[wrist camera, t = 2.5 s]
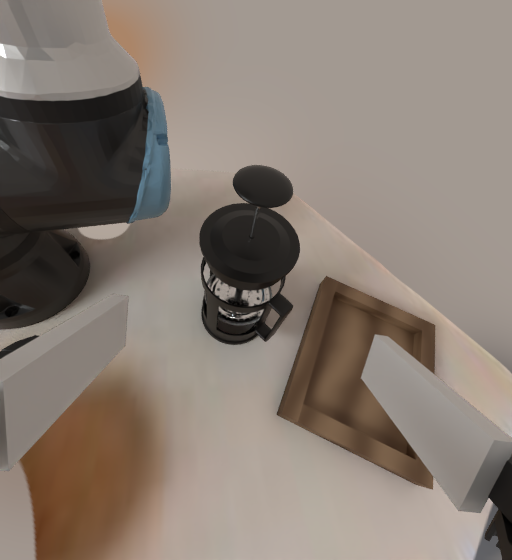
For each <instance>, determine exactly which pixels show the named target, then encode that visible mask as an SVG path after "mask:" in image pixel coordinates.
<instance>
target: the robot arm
mask: <svg viewBox="0 0 512 560" xmlns="http://www.w3.org/2000/svg"><path fill="white" fill-rule="evenodd" d="M167 142H168V137H167V123H166V116H165V110H164V106H163V102H162V99H161V96H160V94H159V93H158V92H156V91H154V90H151V89H150V88H149V87H142V82H141V77H140V71H139V67H138V64H137V63H136V61H135V60H134V59H133V58H132V57H131V56H130V55H129V54H128V53H127V52H126V51H125V49H124V48H122V46H121V45H120V44H119V43H118V42H117V41H116V40H115V39H114V38H113V37H112V36H111V34H110V32H109V29H108V25H107V21H106V17H105V13H104V9H103V5H102V1H101V0H0V329H13V328H19V327H24V326H28V325H31V324H35V323H37V322H40V321H42V320H45V319H47V318H49V317H51V316H53V315H54V314H56V313H58V312H59V311H61V310H62V309H64V308H65V307H66V306H67V305H69V304H70V303H71V302H72V301H73V300H74V299H75V298H76V297H77V296H78V294H79V293H80V292H81V290H82V289H83V287H84V285H85V283H86V281H87V279H88V276H89V270H90V263H89V258H88V256H87V254H86V252H85V250H84V249H83V247H82V246H81V245H80V243H79V242H78V241H77V240H76V239H75V238H74V237H73V236H72V235H71V234H70V233H68V232H67V231H65V230H63V229H70V228H79V227H88V226H97V225H106V224H116V223H125V222H126V223H128V224H129V223H133V222H134V221H135V220H142V219H148V218H154V217H158V216H160V215H162V214H163V213H164V212H165V211H166V210H167V208H168V206H169V202H170V193H171V171H170V154H169V147H168V144H167ZM128 297H129V296H124V295H117V294H112V295H110V296H108V297H106V298H105V299H103V300H101V301H99V302H98V303H96V304H94V305H93V306H91V307H89V308H87V309H86V310H84V311H82V312H80V313H79V314H77V315H75V316H74V317H72V318H70V319H68V320H67V321H65V322H63V323H62V324H60V325H58V326H56V327H55V328H53V329H51V330H49V331H48V332H46V333H44V334H43V335H41V336H36V335H35V336H32V337H29V338H26V339H23V340H20V341H17V342H15V343H13V344H11V345H9V346H8V347H6V348H4V349H2V351H0V470H1V471H10V469H11V468H12V467H13V466H14V465H15V464H16V463H17V462H18V461H19V460H20V459H21V458H22V456H23V455H24V454H25V453H26V452H27V451H28V450H29V449H30V448H31V447H32V446H33V445H34V444H35V442H36V441H37V440H38V439H39V438H40V437H41V436H42V435H43V434H44V433H45V432H46V431H47V430H48V428H49V427H50V426H51V425H52V424H53V423H54V422H55V421H56V420H57V419H58V418H59V417H60V416H61V414H62V413H63V412H64V411H65V410H66V409H67V408H68V407H69V406H70V405H71V404H72V403H73V401H74V400H75V399H76V398H77V397H78V396H79V395H80V394H81V393H82V392H83V391H84V390H85V389H86V387H87V386H88V385H89V384H90V383H91V382H92V381H93V380H94V379H95V378H96V377H97V376H98V375H99V373H100V372H101V371H102V370H103V369H104V368H105V367H106V366H107V365H108V364H109V363H110V362H111V360H112V359H113V358H114V357H115V356H116V355H117V354H118V353H119V352H120V351H121V350H122V349H123V348H124V346H125V342H126V327H127V312H128ZM361 379H362V380H363V381H364V383H365V384H366V385H367V387H368V388H369V390H370V391H371V392H372V394H373V395H374V396H375V398H376V399H377V401H378V402H379V403H380V405H381V406H382V407H383V409H384V410H385V411H386V413H387V414H388V416H389V417H390V418H391V420H392V421H393V422H394V424H395V425H396V426H397V428H398V429H399V431H400V432H401V433H402V435H403V436H404V437H405V439H406V440H407V441H408V443H409V444H410V446H411V447H412V448H413V450H414V451H415V452H416V454H417V455H418V456H419V458H420V459H421V461H422V462H423V463H424V465H425V466H426V467H427V469H428V470H429V471H430V473H431V474H432V476H433V477H434V478H435V480H436V481H437V482H438V484H439V485H440V486H441V488H442V489H443V491H444V492H445V493H446V495H447V496H448V497H449V499H450V500H451V501H452V503H453V504H454V506H455V507H456V508H457V510H458V511H465V512H476V513H481V511H482V509H483V507H484V505H485V503H486V502H487V500H488V498H490V499H491V501H492V502H493V503H494V504H495V505H496V506H497V507H498V511H497V513H496V515H495V516H494V518H493V520H492V522H491V524H490V525H489V527H488V529H487V531H486V533H485V539H486V540H488V541H490V539H491V537H492V536H498V540H499V541H498V543H497V544H496V547H498V548H499V549H500V550H501V555H502V560H512V438H511V437H510V436H509V435H508V434H506V433H505V432H504V431H503V430H502V429H500V428H499V427H498V426H497V425H495V424H494V423H493V422H492V421H491V420H489V419H488V418H487V417H486V416H484V415H483V414H482V413H481V412H480V411H478V410H477V409H476V408H475V407H473V406H472V405H471V404H470V403H469V402H467V401H466V400H465V399H464V398H463V397H461V396H460V395H459V394H458V393H456V392H455V391H454V390H453V389H452V388H450V387H449V386H448V385H447V384H445V383H444V382H443V381H442V380H441V379H439V378H438V377H437V376H436V375H434V374H433V373H432V372H431V371H430V370H428V369H427V368H426V367H425V366H424V365H422V364H421V363H420V362H419V361H417V360H416V359H415V358H414V357H413V356H411V355H410V354H409V353H408V352H406V351H405V350H404V349H403V348H402V347H400V346H399V345H398V344H397V343H395V342H394V341H393V340H392V339H391V338H389V337H388V336H382V335H376V334H375V336H374V339H373V342H372V345H371V348H370V351H369V354H368V357H367V361H366V364H365V367H364V370H363V373H362V376H361Z"/></svg>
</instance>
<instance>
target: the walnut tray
mask: <svg viewBox="0 0 512 560" xmlns="http://www.w3.org/2000/svg"><path fill="white" fill-rule="evenodd" d="M375 334H376V335H382V336H388V337H389V338H391V339H392V340H393V341H394V342H395V343H397V344H398V345H399V346H400V347H402V348H403V349H404V350H405V351H406V352H408V353H409V354H410V355H411V356H413V357H414V358H415V359H416V360H417V361H419V362H420V363H421V364H422V365H424V366H425V367H426V368H427V369H428V370H430V371H431V372H432V373H433V374H434V366H435V325H434V324H432V323H429V322H427V321H425V320H423V319H421V318H418V317H416V316H414V315H412V314H409V313H407V312H405V311H403V310H401V309H398V308H396V307H394V306H392V305H389V304H387V303H385V302H383V301H381V300H378V299H376V298H374V297H372V296H369V295H367V294H365V293H363V292H360V291H358V290H356V289H354V288H352V287H349V286H347V285H345V284H343V283H340V282H338V281H336V280H334V279H332V278H329V277H327V276H326V277H325V278H324V280H323V281H322V282H321V284H320V286H319V289H318V292H317V295H316V298H315V301H314V304H313V307H312V310H311V313H310V316H309V319H308V322H307V325H306V328H305V331H304V334H303V337H302V340H301V343H300V346H299V349H298V352H297V355H296V358H295V361H294V364H293V367H292V370H291V373H290V376H289V379H288V382H287V385H286V388H285V391H284V394H283V397H282V400H281V403H280V406H279V409H278V412H277V415H278V416H280V417H282V418H284V419H286V420H288V421H290V422H292V423H294V424H296V425H298V426H300V427H302V428H304V429H306V430H308V431H310V432H312V433H314V434H316V435H318V436H320V437H322V438H324V439H326V440H328V441H330V442H332V443H334V444H336V445H338V446H340V447H342V448H344V449H346V450H348V451H350V452H352V453H354V454H356V455H358V456H360V457H362V458H364V459H366V460H368V461H370V462H372V463H374V464H376V465H378V466H380V467H382V468H384V469H386V470H388V471H390V472H392V473H394V474H396V475H398V476H400V477H402V478H404V479H406V480H408V481H410V482H412V483H414V484H416V485H419V486H422V487H426V488H429V489H433V476H432V474H431V473H430V471H429V470H428V469H427V467H426V466H425V465H424V463H423V462H422V461H421V459H420V458H419V456H418V455H417V454H416V452H415V451H414V450H413V448H412V447H411V446H410V444H409V443H408V441H407V440H406V439H405V437H404V436H403V435H402V433H401V432H400V431H399V429H398V428H397V426H396V425H395V424H394V422H393V421H392V420H391V418H390V417H389V416H388V414H387V413H386V411H385V410H384V409H383V407H382V406H381V405H380V403H379V402H378V401H377V399H376V398H375V396H374V395H373V394H372V392H371V391H370V390H369V388H368V387H367V385H366V384H365V383H364V381H363V380H362V379H361V376H362V373H363V370H364V367H365V364H366V361H367V357H368V354H369V351H370V348H371V345H372V342H373V339H374V336H375Z"/></svg>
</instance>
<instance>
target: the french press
mask: <svg viewBox="0 0 512 560" xmlns="http://www.w3.org/2000/svg"><path fill="white" fill-rule="evenodd" d="M233 186H234V189H235V191H236V192H237V194H238V195H239V196H240V197H241V198H242V199H243V200H245V201H246V202H248V203H250V204H247V203H240V204H232V205H228V206H224V207H222V208H220V209H218V210H216V211H215V212H213V213H212V214H211V215H210V216H209V217H208V218H207V219H206V220H205V222H204V223H203V225H202V227H201V231H200V248H201V251H202V254H203V256H204V257H203V260H202V264H201V280H202V284H203V287H204V289H205V291H204V294H205V295H204V298H203V306H202V321H203V324H204V326H205V329H206V330H207V331H208V333H209V334H210V335H211V336H212V337H213V338H215V339H216V340H218V341H220V342H222V343H225V344H231V345H238V344H243V343H247V342H249V341H251V340H253V339H254V338H255V337H256V336H258V335H259V336H260V337H261V338H262V339H263V340H264V341H265V342H266V341H268V340H269V339H270V338H271V337H272V336H273V335H274V334H275V332H276V331H277V329H278V328H279V327H280V325H281V324H282V322H283V321H284V320H285V318H286V317H287V315H288V314H289V313H290V311H291V310H292V308H293V305H292V304H291V303H290V302H289V301H288V300H287V299H286V298H285V297H284V296H282V295H281V294H280V292H281V290H282V288H283V286H284V283H285V276H286V275H287V274H288V273H289V272H290V271H291V270H292V269H293V268H294V266H295V264H296V262H297V260H298V257H299V253H300V243H299V239H298V236H297V234H296V232H295V230H294V228H293V227H292V226H291V224H290V223H289V222H288V221H287V220H286V219H285V218H284V217H283V216H281V215H280V214H278V213H277V212H275V211H273V210H271V209H269V208H274V207H279V206H282V205H284V204H286V203H287V202H288V201H289V200H290V199H291V197H292V195H293V187H292V184H291V182H290V180H289V179H288V178H287V177H286V176H285V175H284V174H283V173H281V172H280V171H278V170H276V169H274V168H271V167H267V166H261V165H252V166H247V167H244V168H242V169H240V170H239V171H238V172H237V173H236V174H235V176H234V178H233ZM206 262H207V264H208V266H209V268H210V278H209V280H208V281H207V283H206V281H205V279H204V275H203V271H204V266H205V264H206ZM280 279H281V285H280V289H279V291H278V293H277V294H276V295H275V296H274V297H273V298H272V293H271V288H270V286H272V285H274V284H275V283H277V282H278V281H279V280H280ZM272 308H273V309H274V310H275V311H276V312H277V313H278V314H279V315H280V317H279V319H278V320H277V322H276V323H275V325H274V326H273V328H272V330H271V329H270V328H269V327H268V326H267V325H266V324H265V321H266V318H267V316H268V314H269V312H270V310H271V309H272ZM218 319H219V320H220V321H222V322H224V323H227V324H231V325H238V326H239V325H248V324H252V323H254V322H256V323H255V325H254V326H253V327H252V328H251V329H250V330H248V331H247V332H245V333H242V334H229V333H226V332H223V331H221V330H220V329H219V328H217V325H218Z"/></svg>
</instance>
